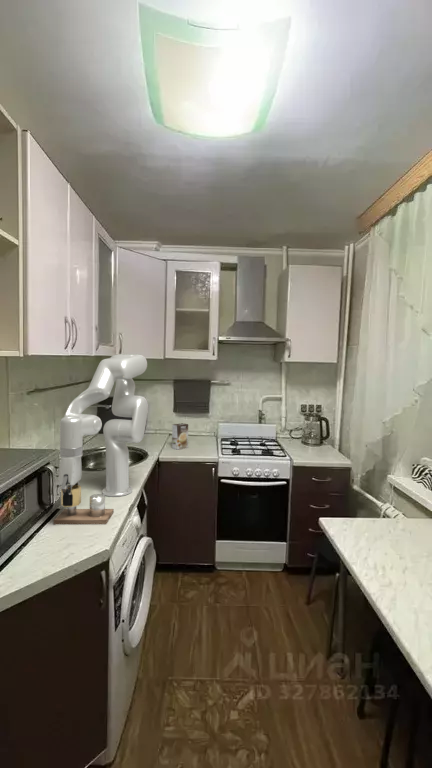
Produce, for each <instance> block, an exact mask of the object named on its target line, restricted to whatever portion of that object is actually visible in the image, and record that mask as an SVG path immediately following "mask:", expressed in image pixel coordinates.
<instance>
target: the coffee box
mask: <svg viewBox="0 0 432 768" xmlns="http://www.w3.org/2000/svg"><path fill="white" fill-rule="evenodd" d="M171 425H172V428H171V429H172V431H171V449H175V450H182V449H188V447H189V424H188V423H174V424H171Z"/></svg>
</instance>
